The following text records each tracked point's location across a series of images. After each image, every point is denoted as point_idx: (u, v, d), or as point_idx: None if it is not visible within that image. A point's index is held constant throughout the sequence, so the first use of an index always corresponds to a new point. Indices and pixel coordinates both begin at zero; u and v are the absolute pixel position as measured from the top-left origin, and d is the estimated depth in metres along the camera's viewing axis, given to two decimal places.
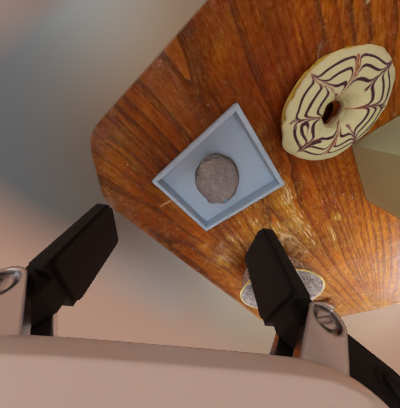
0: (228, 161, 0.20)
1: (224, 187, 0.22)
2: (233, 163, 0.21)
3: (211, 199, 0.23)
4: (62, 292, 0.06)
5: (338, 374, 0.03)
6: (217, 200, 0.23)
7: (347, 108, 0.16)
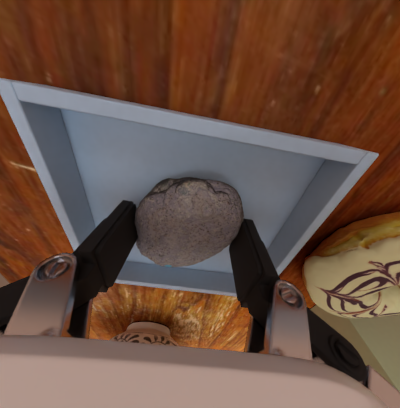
0: (238, 223, 0.09)
1: (188, 252, 0.10)
2: (239, 229, 0.09)
3: (146, 249, 0.10)
4: (100, 277, 0.07)
5: (338, 374, 0.03)
6: (155, 259, 0.10)
7: None
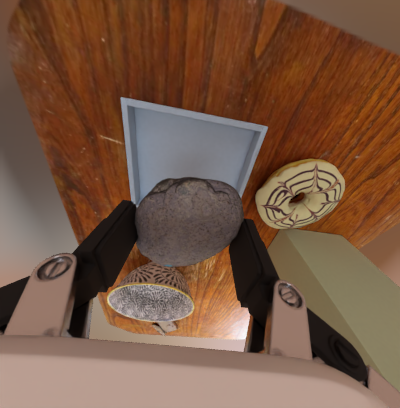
0: (238, 223, 0.09)
1: (188, 252, 0.10)
2: None
3: (146, 249, 0.10)
4: (100, 278, 0.07)
5: (338, 374, 0.03)
6: (155, 259, 0.10)
7: (305, 204, 0.20)
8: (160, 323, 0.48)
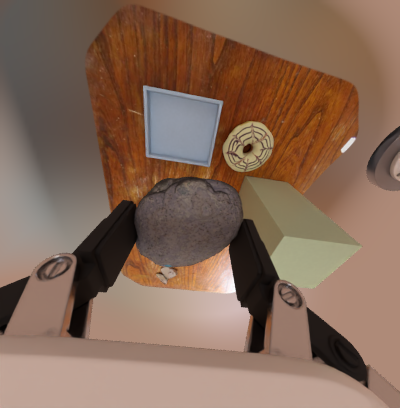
0: (238, 223, 0.09)
1: (188, 252, 0.10)
2: None
3: (146, 249, 0.10)
4: (100, 278, 0.07)
5: (338, 374, 0.03)
6: (155, 259, 0.10)
7: (252, 152, 0.33)
8: (163, 271, 0.61)
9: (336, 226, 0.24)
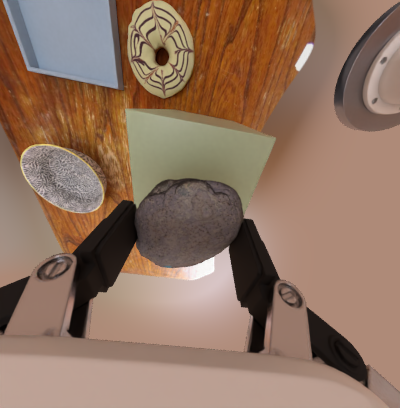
0: (238, 224, 0.09)
1: (188, 253, 0.10)
2: None
3: (146, 250, 0.10)
4: (100, 278, 0.07)
5: (338, 374, 0.03)
6: (155, 260, 0.10)
7: (168, 61, 0.23)
8: None
9: (254, 130, 0.15)
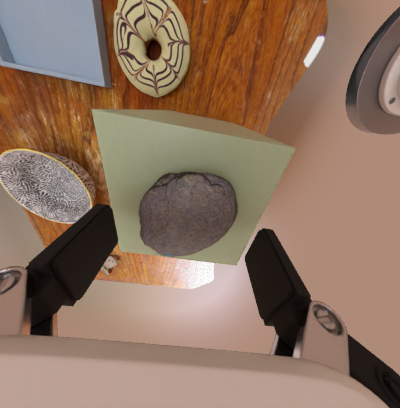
0: (232, 214, 0.10)
1: (188, 241, 0.11)
2: (234, 220, 0.10)
3: (149, 239, 0.11)
4: (62, 292, 0.06)
5: (338, 374, 0.03)
6: (157, 248, 0.11)
7: (160, 55, 0.21)
8: None
9: (262, 136, 0.12)
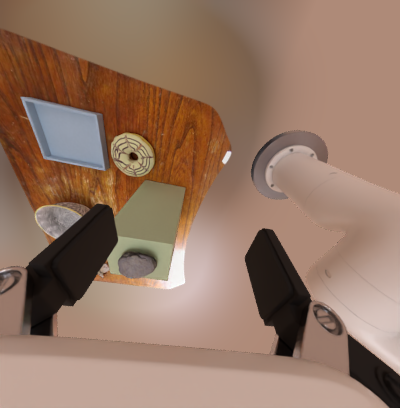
0: (152, 265, 0.26)
1: (137, 273, 0.27)
2: (155, 266, 0.27)
3: (122, 272, 0.27)
4: (62, 291, 0.06)
5: (338, 374, 0.03)
6: (125, 275, 0.27)
7: (137, 160, 0.37)
8: None
9: (173, 227, 0.29)
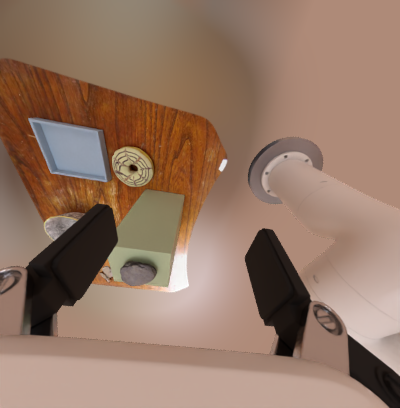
0: (152, 273, 0.27)
1: (138, 281, 0.28)
2: (155, 274, 0.28)
3: (124, 280, 0.29)
4: (62, 292, 0.06)
5: (338, 374, 0.03)
6: (127, 283, 0.29)
7: (137, 171, 0.38)
8: (104, 270, 0.67)
9: (171, 236, 0.30)
